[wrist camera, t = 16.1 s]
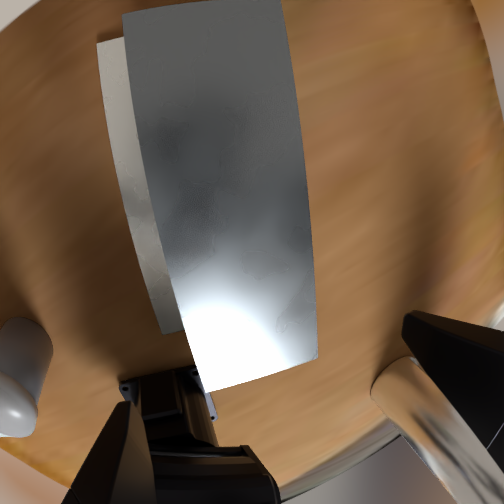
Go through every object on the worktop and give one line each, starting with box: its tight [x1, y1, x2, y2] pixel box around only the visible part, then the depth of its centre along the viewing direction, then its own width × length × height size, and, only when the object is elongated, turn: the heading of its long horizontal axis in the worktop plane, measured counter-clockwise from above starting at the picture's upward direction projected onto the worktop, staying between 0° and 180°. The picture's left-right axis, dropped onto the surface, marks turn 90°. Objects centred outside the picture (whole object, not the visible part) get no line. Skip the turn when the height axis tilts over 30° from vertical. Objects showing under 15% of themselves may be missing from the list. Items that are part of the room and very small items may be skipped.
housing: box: [97, 0, 318, 392], centre depth 14 cm, size 18×9×9 cm, turn 8°
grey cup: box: [0, 317, 53, 437], centre depth 15 cm, size 5×5×7 cm
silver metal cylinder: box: [371, 356, 504, 504], centre depth 20 cm, size 6×6×25 cm
